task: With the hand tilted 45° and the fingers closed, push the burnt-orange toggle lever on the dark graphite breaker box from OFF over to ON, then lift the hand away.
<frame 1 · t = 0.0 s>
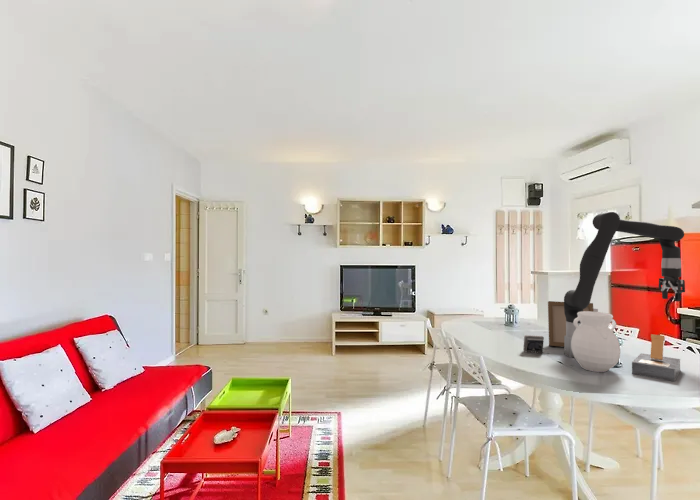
hand: (671, 299, 189), 29 cm above the table, tool pointing down, fingers open, 8 cm apart
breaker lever: (657, 347, 168), point 10 cm above the table, hinge at -25.0°
white ceramic vase: (595, 369, 170), on the table
breaker box: (656, 372, 167), on the table
photo frame: (570, 346, 214), on the table
electrical switch: (534, 353, 198), on the table
plastic bottle: (594, 343, 222), on the table
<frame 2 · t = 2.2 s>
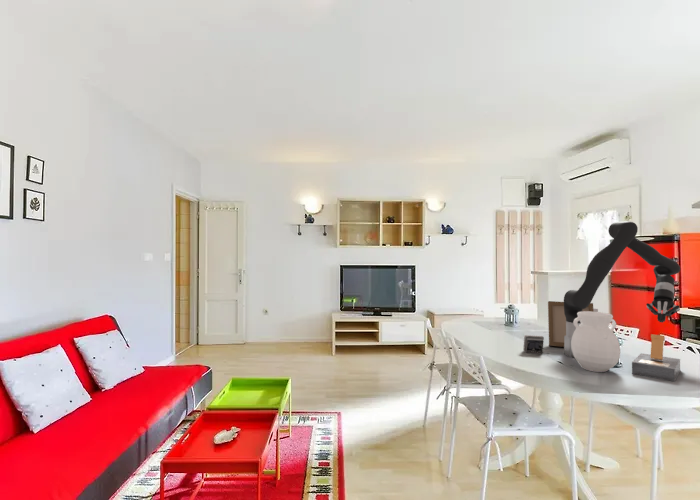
hand: (661, 321, 178), 20 cm above the table, tool tilted 45°, fingers closed
nothing on the table moved.
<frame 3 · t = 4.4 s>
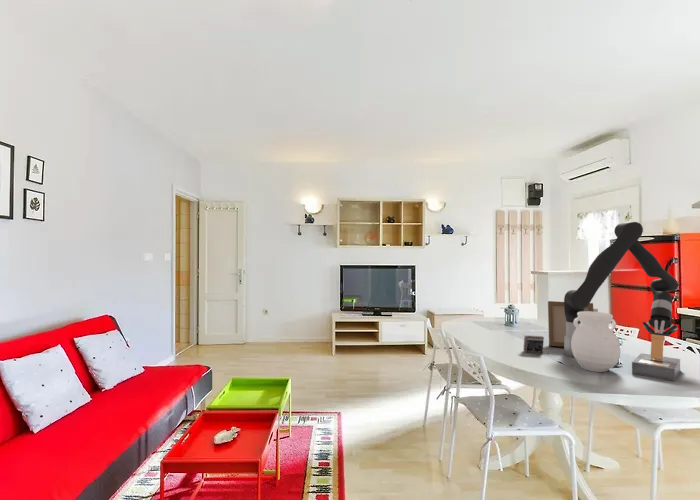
hand: (658, 341, 171), 12 cm above the table, tool tilted 45°, fingers closed
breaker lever: (657, 347, 168), point 10 cm above the table, hinge at -24.1°, touching gripper
everything else where it was.
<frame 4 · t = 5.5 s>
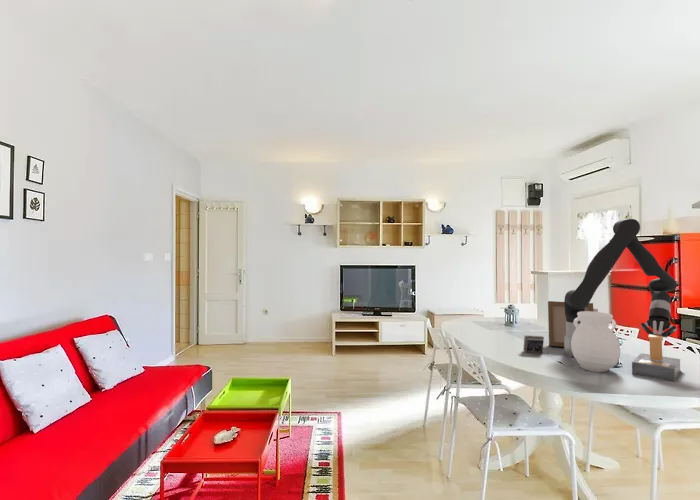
hand: (656, 343, 166), 13 cm above the table, tool tilted 45°, fingers closed
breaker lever: (656, 347, 166), point 11 cm above the table, hinge at 11.5°, touching gripper
everything else where it was.
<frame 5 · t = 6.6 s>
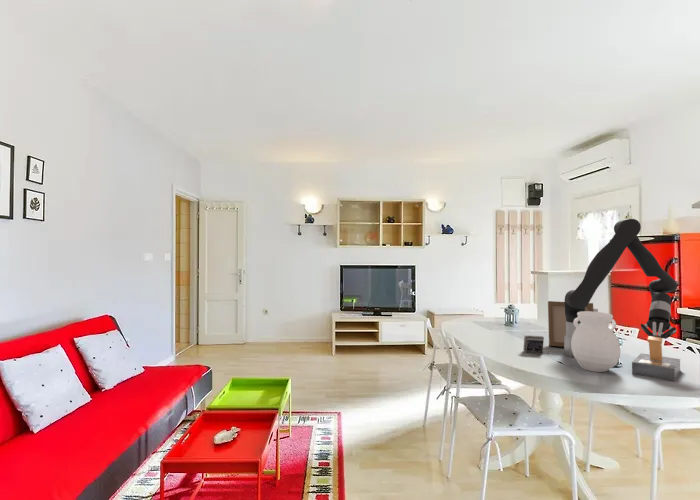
hand: (656, 344, 165), 12 cm above the table, tool tilted 45°, fingers closed
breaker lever: (655, 349, 165), point 10 cm above the table, hinge at 23.3°, touching gripper
everything else where it was.
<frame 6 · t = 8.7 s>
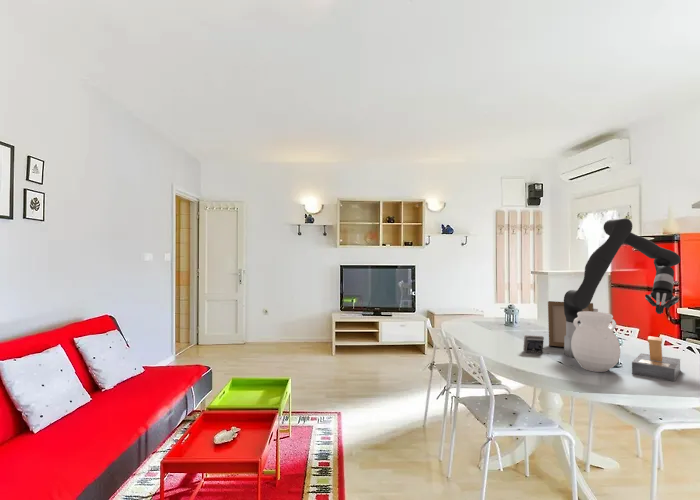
hand: (659, 312, 179), 24 cm above the table, tool tilted 45°, fingers closed
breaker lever: (655, 349, 165), point 10 cm above the table, hinge at 23.3°
everything else where it was.
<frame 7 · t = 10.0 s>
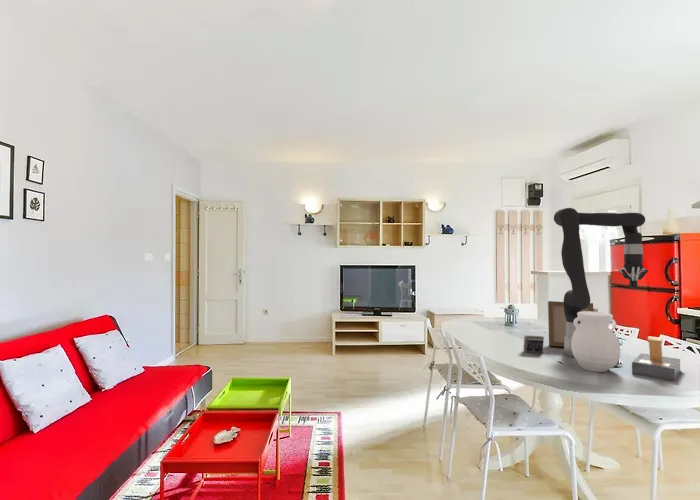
hand: (633, 288, 189), 35 cm above the table, tool pointing down, fingers closed
nothing on the table moved.
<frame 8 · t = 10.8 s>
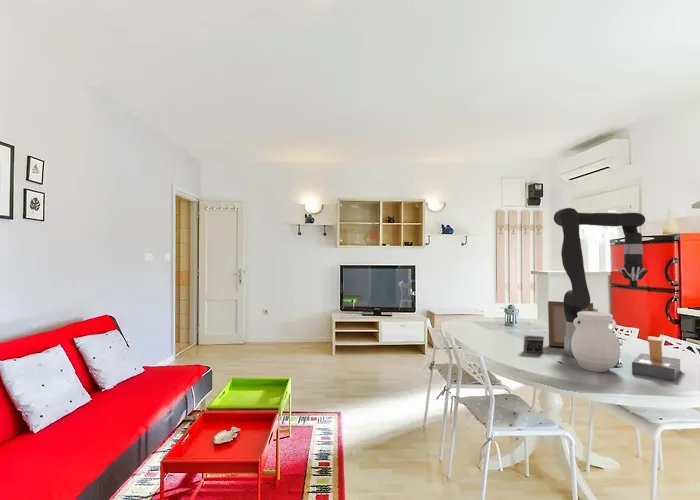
hand: (633, 288, 189), 35 cm above the table, tool pointing down, fingers closed
nothing on the table moved.
at the end: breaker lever at +23° (first picture: -25°); white ceramic vase moved 0.2 cm from its start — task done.
